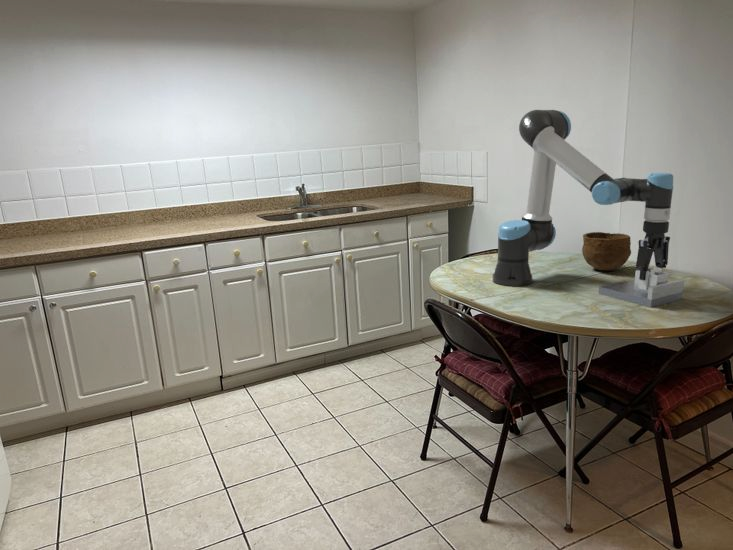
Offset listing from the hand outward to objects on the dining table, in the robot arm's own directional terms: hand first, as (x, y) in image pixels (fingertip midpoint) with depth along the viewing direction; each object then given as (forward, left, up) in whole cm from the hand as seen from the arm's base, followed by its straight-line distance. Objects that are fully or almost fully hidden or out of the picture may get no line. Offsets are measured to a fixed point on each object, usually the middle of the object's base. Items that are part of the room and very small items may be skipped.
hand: (649, 287), depth 185 cm
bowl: (+23, +35, -4) cm, 43 cm away
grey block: (0, 0, -1) cm, 1 cm away
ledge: (0, +3, -4) cm, 5 cm away
